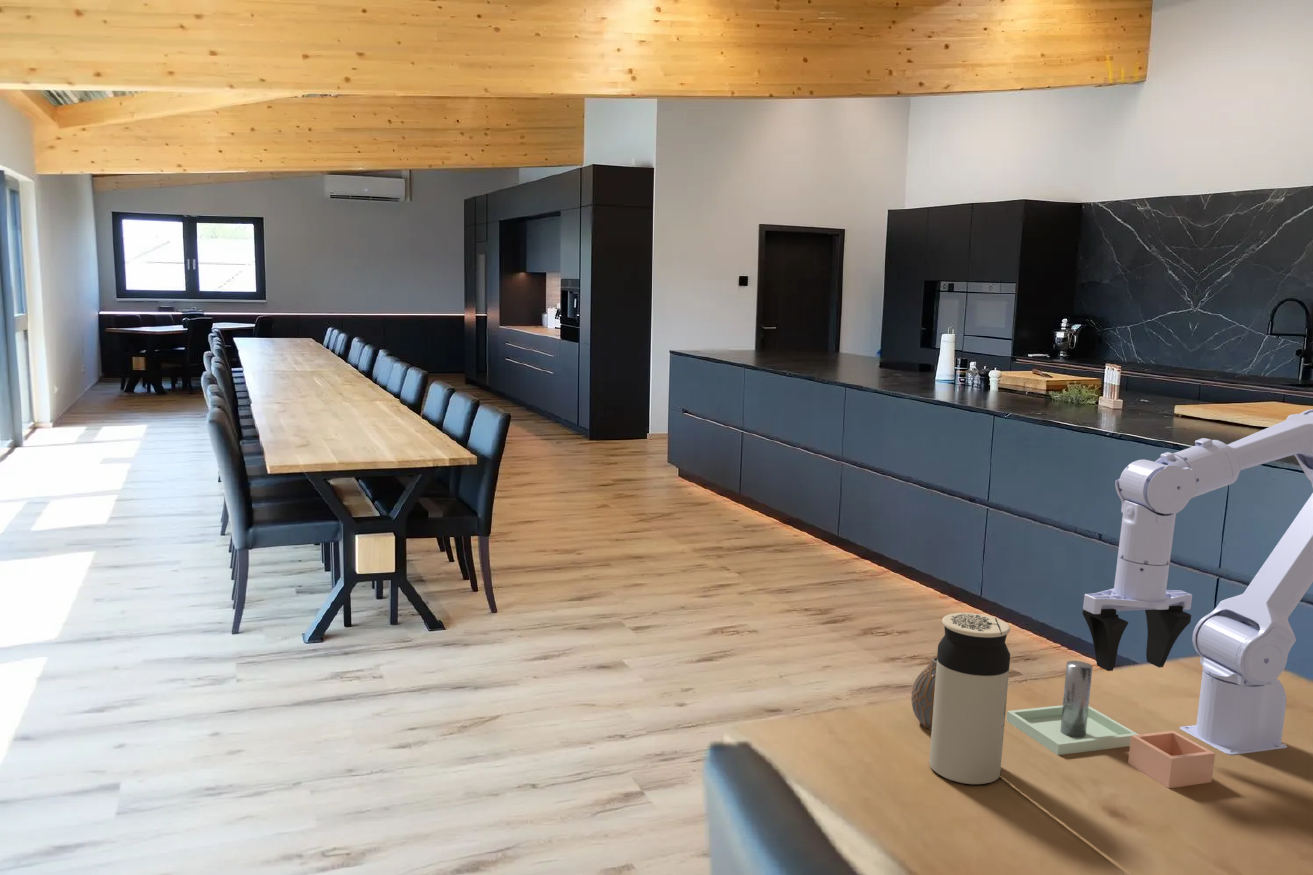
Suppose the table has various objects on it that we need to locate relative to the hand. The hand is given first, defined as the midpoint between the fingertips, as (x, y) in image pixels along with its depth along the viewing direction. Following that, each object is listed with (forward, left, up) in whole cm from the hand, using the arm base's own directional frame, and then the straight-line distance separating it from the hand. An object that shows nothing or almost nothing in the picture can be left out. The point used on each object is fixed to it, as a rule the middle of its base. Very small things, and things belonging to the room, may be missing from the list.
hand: (1130, 666), depth 124 cm
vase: (+19, -11, -11) cm, 25 cm away
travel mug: (+23, +1, -11) cm, 26 cm away
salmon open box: (0, +8, -10) cm, 13 cm away
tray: (+4, -4, -10) cm, 12 cm away
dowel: (+4, -4, -10) cm, 11 cm away
